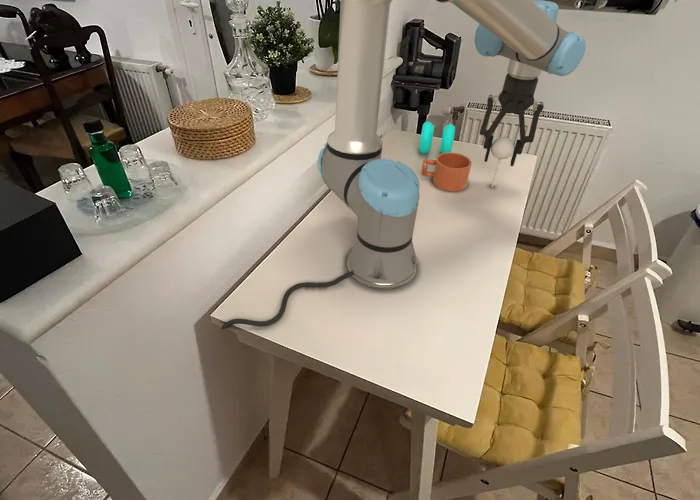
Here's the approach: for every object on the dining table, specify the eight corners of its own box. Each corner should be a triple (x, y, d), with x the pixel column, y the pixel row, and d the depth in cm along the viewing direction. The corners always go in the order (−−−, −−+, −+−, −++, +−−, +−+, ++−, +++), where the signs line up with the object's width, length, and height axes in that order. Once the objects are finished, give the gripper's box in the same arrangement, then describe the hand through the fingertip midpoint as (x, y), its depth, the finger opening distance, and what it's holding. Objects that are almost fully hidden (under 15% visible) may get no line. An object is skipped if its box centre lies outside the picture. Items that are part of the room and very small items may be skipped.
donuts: (449, 163, 133) (455, 132, 127) (417, 158, 135) (421, 128, 129) (451, 148, 141) (456, 119, 134) (420, 145, 142) (424, 115, 136)
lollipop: (501, 182, 125) (515, 134, 115) (504, 193, 120) (519, 143, 111) (479, 181, 125) (491, 132, 116) (482, 191, 121) (495, 142, 111)
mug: (467, 176, 127) (471, 155, 123) (466, 193, 120) (471, 171, 115) (422, 170, 129) (425, 149, 125) (418, 186, 122) (421, 164, 117)
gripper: (564, 75, 104) (535, 161, 118) (483, 65, 108) (465, 150, 123) (566, 85, 98) (535, 174, 113) (480, 74, 102) (462, 161, 117)
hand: (498, 161), depth 118 cm, fingers closed on lollipop, 6 cm apart
